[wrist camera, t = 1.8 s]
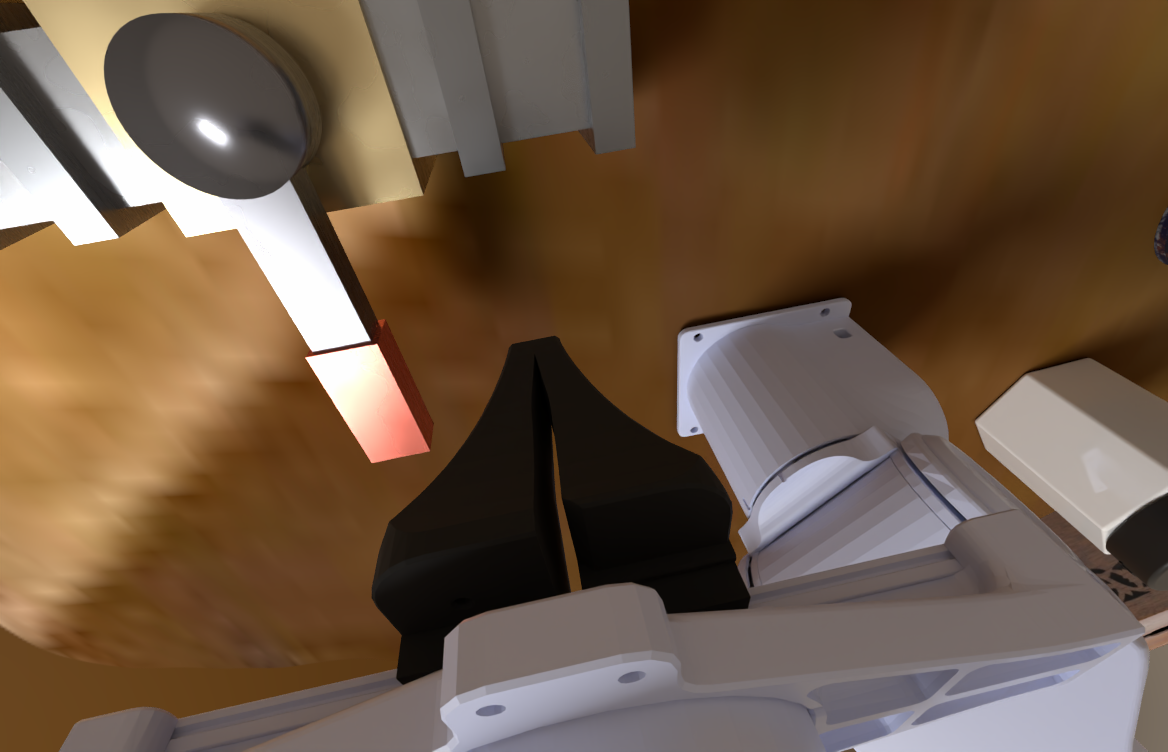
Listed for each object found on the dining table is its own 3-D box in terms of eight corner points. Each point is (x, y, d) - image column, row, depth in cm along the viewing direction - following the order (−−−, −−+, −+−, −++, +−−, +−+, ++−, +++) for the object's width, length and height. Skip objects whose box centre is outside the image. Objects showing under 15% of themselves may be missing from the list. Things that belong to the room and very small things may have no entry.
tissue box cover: (1234, 418, 41) (1409, 514, 33) (1226, 480, 49) (1367, 569, 41) (949, 560, 50) (1034, 662, 42) (980, 593, 57) (1057, 684, 50)
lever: (113, 25, 10) (55, 28, 9) (275, 0, 11) (244, 0, 9) (362, 433, 19) (352, 467, 17) (451, 415, 19) (448, 448, 18)
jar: (955, 456, 37) (1114, 607, 27) (993, 378, 32) (1204, 533, 22) (1064, 427, 37) (1260, 569, 27) (1120, 346, 32) (1384, 486, 22)
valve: (584, -88, 14) (622, -126, 10) (603, 127, 18) (635, 161, 14) (-100, 13, 13) (-355, 16, 9) (70, 219, 17) (-58, 284, 13)
